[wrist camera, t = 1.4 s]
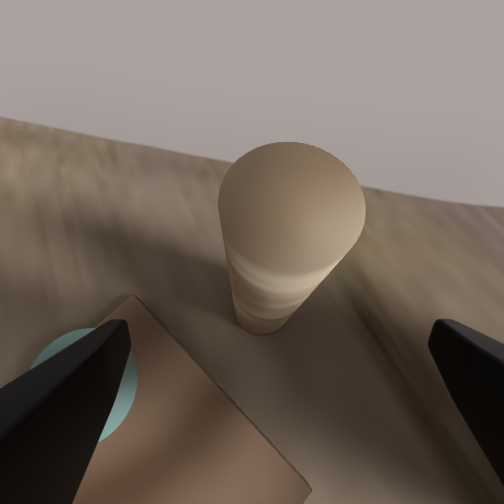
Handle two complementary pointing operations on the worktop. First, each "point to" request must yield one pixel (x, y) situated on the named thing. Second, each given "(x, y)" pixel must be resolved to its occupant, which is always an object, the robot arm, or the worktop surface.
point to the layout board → (177, 431)
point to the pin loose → (285, 228)
